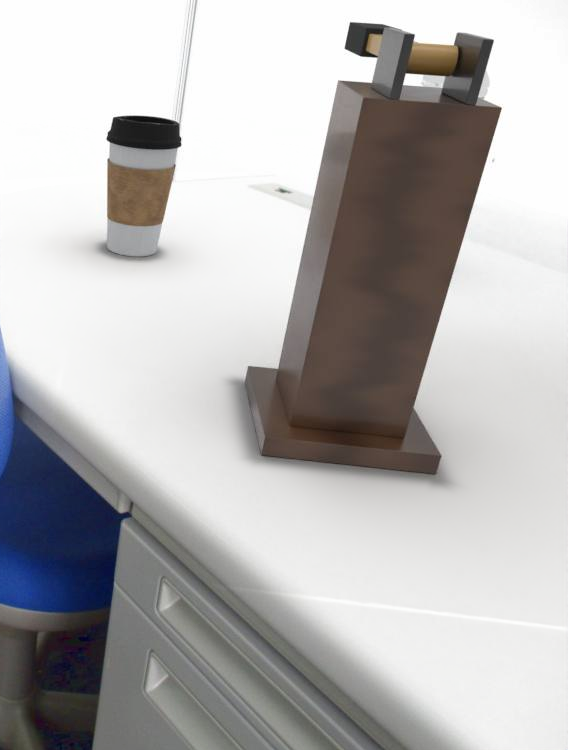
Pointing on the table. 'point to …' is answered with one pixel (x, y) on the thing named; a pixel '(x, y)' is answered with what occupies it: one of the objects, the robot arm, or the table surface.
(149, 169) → the coffee cup
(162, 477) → the table surface
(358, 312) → the pedestal
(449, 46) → the lever
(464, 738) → the table surface
